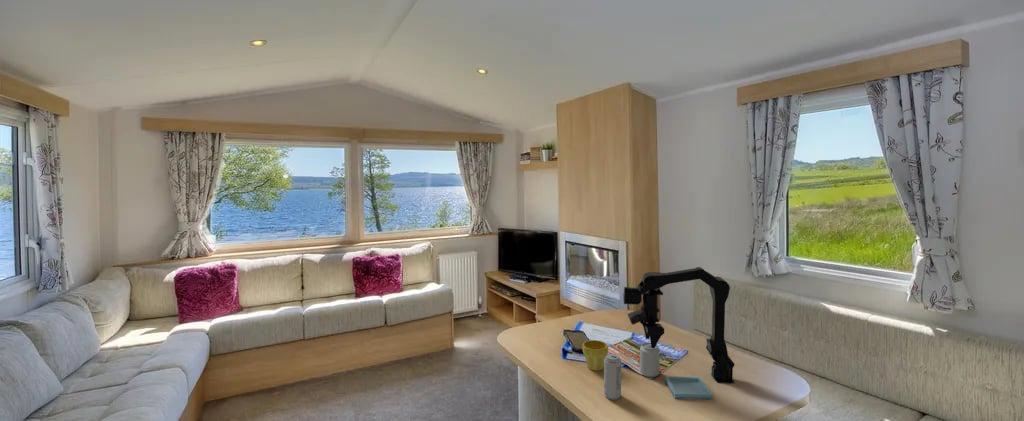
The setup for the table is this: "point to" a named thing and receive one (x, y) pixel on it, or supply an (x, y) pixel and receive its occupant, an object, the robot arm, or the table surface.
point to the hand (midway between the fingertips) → (650, 343)
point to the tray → (688, 388)
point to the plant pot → (595, 354)
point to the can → (649, 360)
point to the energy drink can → (612, 376)
